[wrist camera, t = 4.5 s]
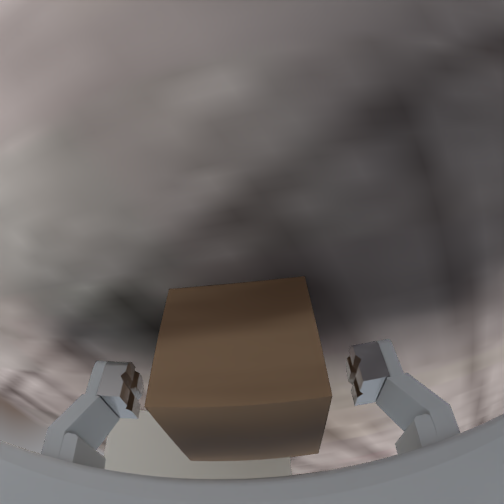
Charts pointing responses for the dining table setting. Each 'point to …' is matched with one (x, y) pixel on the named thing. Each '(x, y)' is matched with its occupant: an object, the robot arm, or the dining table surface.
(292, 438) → the walnut cube
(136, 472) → the base block
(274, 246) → the dining table surface
